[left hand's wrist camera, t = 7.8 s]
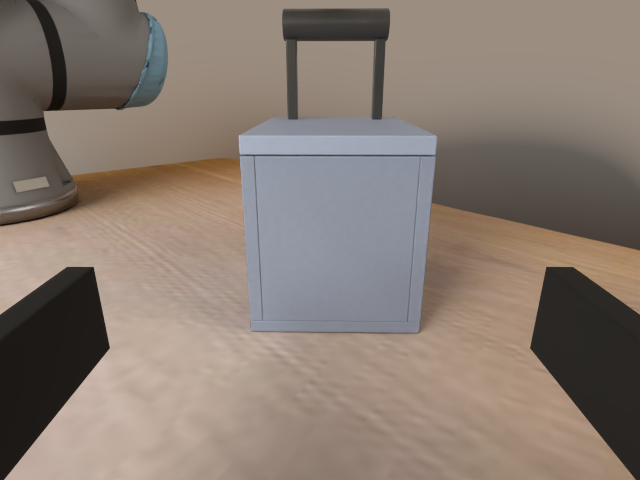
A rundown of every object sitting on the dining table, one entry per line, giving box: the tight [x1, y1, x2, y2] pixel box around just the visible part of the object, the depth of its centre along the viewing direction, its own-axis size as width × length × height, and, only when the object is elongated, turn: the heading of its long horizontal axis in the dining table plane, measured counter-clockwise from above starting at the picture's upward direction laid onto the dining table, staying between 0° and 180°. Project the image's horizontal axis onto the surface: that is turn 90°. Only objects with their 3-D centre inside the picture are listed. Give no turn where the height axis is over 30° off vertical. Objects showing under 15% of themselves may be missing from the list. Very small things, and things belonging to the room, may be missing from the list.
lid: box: [239, 8, 437, 155], centre depth 26 cm, size 14×10×8 cm
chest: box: [240, 155, 436, 333], centre depth 29 cm, size 13×10×10 cm
